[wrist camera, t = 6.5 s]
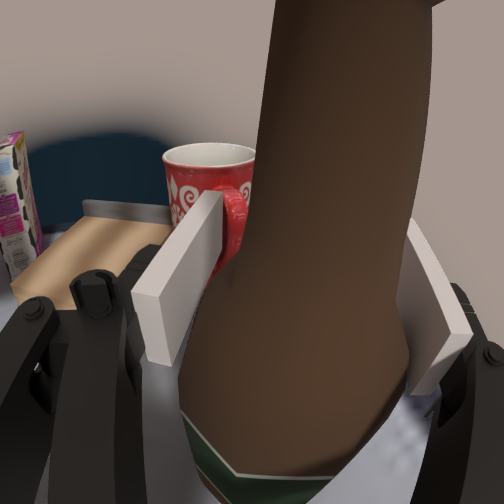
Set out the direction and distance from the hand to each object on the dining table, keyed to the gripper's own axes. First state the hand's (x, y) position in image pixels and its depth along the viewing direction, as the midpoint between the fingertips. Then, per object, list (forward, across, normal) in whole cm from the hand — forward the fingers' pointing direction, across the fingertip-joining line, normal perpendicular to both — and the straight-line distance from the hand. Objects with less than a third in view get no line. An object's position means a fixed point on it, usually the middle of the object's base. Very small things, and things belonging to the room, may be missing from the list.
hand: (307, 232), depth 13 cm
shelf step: (+11, -20, -15) cm, 27 cm away
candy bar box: (+13, -34, -16) cm, 40 cm away
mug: (+15, -8, -15) cm, 23 cm away
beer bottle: (-5, 0, -15) cm, 15 cm away
